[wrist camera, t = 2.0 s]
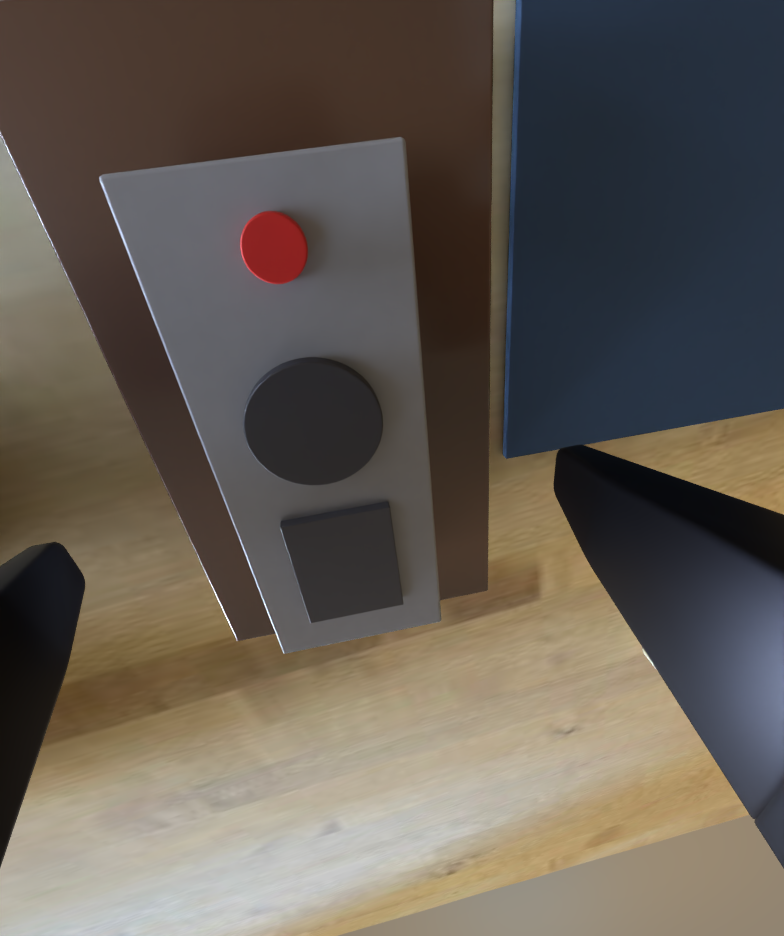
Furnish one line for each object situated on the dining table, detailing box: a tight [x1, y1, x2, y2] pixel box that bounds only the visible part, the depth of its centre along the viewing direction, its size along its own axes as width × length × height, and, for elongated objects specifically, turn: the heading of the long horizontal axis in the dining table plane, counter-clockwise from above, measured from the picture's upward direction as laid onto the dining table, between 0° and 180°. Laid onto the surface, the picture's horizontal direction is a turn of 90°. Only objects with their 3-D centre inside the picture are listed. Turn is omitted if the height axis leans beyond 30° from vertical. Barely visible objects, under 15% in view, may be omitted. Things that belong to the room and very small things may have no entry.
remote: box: [99, 137, 441, 653], centre depth 11 cm, size 11×4×3 cm, turn 6°
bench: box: [0, 0, 493, 641], centre depth 14 cm, size 16×9×6 cm, turn 6°
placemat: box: [503, 0, 784, 459], centre depth 15 cm, size 20×14×1 cm
